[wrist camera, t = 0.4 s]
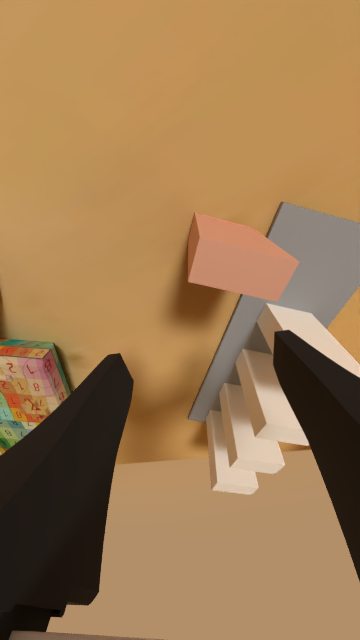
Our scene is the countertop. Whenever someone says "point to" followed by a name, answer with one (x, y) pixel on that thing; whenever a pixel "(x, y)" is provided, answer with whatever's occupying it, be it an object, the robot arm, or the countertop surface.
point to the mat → (289, 291)
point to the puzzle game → (28, 387)
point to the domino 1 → (237, 259)
